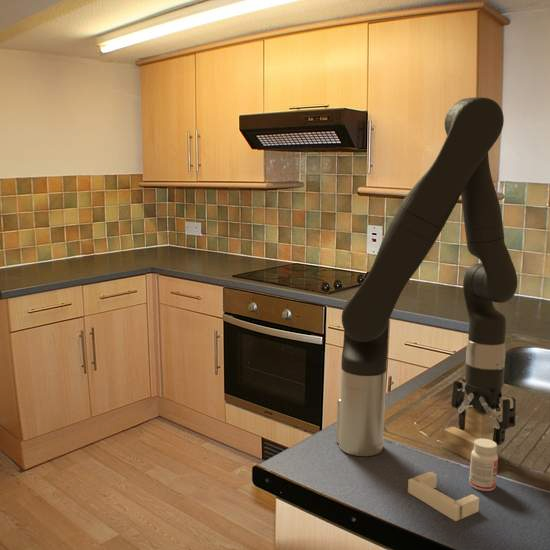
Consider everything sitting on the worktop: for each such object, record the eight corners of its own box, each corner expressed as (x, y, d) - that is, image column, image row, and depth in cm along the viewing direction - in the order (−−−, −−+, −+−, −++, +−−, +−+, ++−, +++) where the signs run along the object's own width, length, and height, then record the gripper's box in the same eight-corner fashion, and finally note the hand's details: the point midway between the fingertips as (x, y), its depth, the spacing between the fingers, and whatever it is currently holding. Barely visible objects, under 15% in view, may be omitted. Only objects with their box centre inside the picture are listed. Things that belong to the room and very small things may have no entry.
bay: (407, 492, 110) (408, 479, 109) (430, 483, 113) (430, 471, 112) (455, 521, 101) (456, 507, 100) (478, 511, 104) (479, 498, 103)
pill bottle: (498, 493, 110) (501, 449, 108) (470, 490, 111) (474, 447, 109) (493, 480, 115) (496, 438, 113) (467, 477, 115) (470, 436, 114)
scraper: (442, 446, 128) (445, 406, 127) (464, 439, 132) (467, 400, 130) (481, 466, 120) (484, 423, 118) (503, 457, 124) (507, 416, 122)
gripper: (445, 356, 127) (442, 428, 130) (502, 374, 115) (497, 454, 118) (469, 350, 131) (466, 421, 134) (527, 368, 119) (521, 445, 122)
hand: (480, 436), depth 126 cm, fingers open, 8 cm apart
